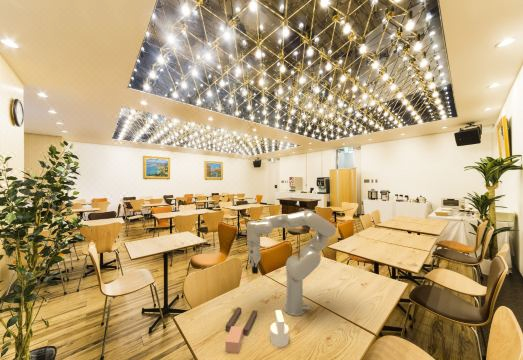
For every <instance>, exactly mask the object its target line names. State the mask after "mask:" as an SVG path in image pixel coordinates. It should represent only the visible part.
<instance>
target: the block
mask: <svg viewBox="0 0 523 360" xmlns="http://www.w3.org/2000/svg"><path fill="white" fill-rule="evenodd" d="M243 328H244V327H243V326H235V325H234V326H231V329H230V331H229V332H228V335H227V337H226V340H225V353H233V354H239V353H240V349H241V346H242V342H243V338H244V335H243Z"/></svg>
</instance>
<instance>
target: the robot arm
mask: <svg viewBox="0 0 523 360" xmlns="http://www.w3.org/2000/svg"><path fill="white" fill-rule="evenodd" d="M303 226H307V227H308V228H310V229H311V230H313V231H315V233H314V235H313V237H312V238H311V239H309V241H308V242H307V243H305V244H304V245H303V246H302V247H301V249H300V250H299V256H300V257H301V258H299V257H298V256H295V255H291V256H289V257H288V258H287V260H286V263H285V272H286V303H285V304H284V305H283V310H284V312H285V313H286V314H288V315H290V316H294V317H295V316H296V317H299V316H302V315H304V314H305V313H306V311H311V306H309V304H307V303H304V300H303V291H304V290H303V285H304V284H303V280H304V279H306V278H307V277H308V276H310V274H311V273H312V272H314V271H315V270H316V269H317V268H318V266H319V265H320V264H321V262H322V261H321V260H322V258H321V254H320V253H321V252H322V251H323V249H324V248H325V247H326V246H327V244H328V242H329V238H332V237H334V236H335V235H336V232H337V229H336V227H335V224H333V223H332V222H331V221H328V219H327V220H326V219H325V218H323V217H322V216H320V215H319V214H317V213H316V212H313V211H312V210H307V209H305V210H302V211H297V212H293V213H287V214H281V215H273V216H269V217H264V218H262V219H261V220H259V221H257V220H250V221H248V222H247V223H246V239H247V240H246V241H247V242H246V243H247V246H248V264H250V267H251V273H252V274H255V275H257V274H258V273H259V266H258V265H259V262H260V261H261V258H262V256H261V236H260V235H270V234H271V233H272V232H273V230H274V229H276V228H283V229H289V230H291V229H294V228H295V229H296V228H299V227H303Z"/></svg>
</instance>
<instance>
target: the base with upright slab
mask: <svg viewBox="0 0 523 360" xmlns="http://www.w3.org/2000/svg"><path fill="white" fill-rule="evenodd" d="M274 314H275V315H274V319H275V320H274V321H273V323H272V324H271V325H270V331H269V332H270V333H269V335H270V337H269V338H270V343H271V344H272V345H273V346H274V347H276V348H284V347H286V346H287V345H288V344H289V342H290V339H289V338H290V335H289V334H290V332H289V331H290V329H289V325H287V323H285V318H284V316H283V313H282V310H281V309H276V310H275V312H274Z"/></svg>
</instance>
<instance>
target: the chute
mask: <svg viewBox="0 0 523 360" xmlns="http://www.w3.org/2000/svg"><path fill="white" fill-rule="evenodd" d="M241 315H242V307H238V306H237V307H236V309H235V310H234V312H233V314H232V315H231V317H230V318H229V320H228V321H227V322H226V324H225V332H228V333H229V331H230V329H231V326H234V327H235V324H236V323H237V321H238V320H239V318H240V316H241ZM257 317H258V310H255V309H253V310H251V313H250V315H249V316H248V319H247V320H246V323H245V325H244V327H243V336H246V337H248V336H249V334H250V333H251V330H252V328H253V325H255V322H256V319H257Z"/></svg>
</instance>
